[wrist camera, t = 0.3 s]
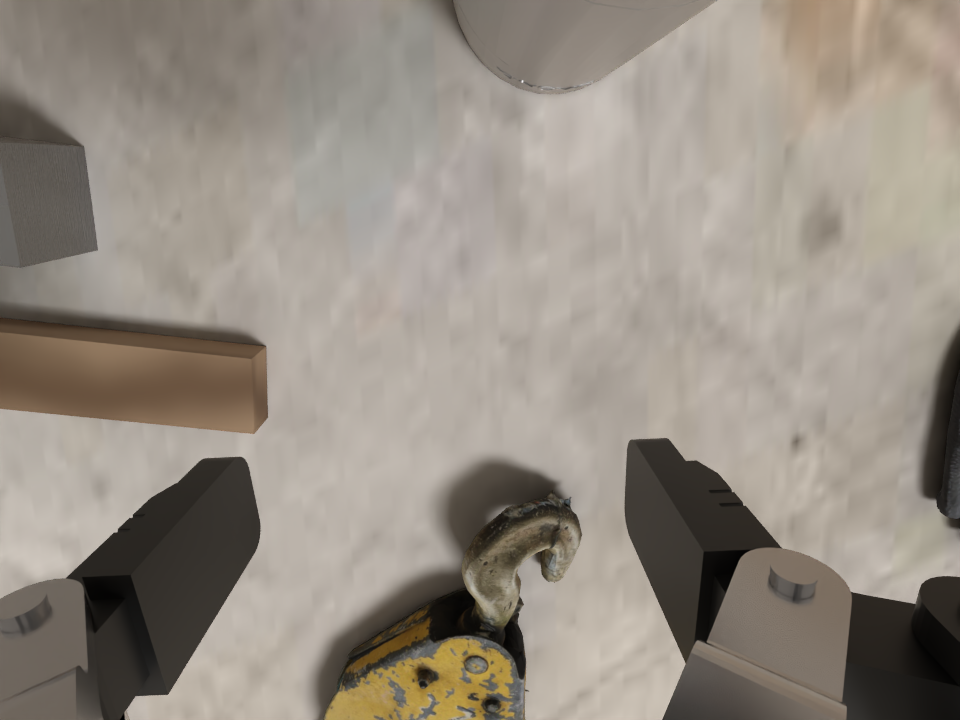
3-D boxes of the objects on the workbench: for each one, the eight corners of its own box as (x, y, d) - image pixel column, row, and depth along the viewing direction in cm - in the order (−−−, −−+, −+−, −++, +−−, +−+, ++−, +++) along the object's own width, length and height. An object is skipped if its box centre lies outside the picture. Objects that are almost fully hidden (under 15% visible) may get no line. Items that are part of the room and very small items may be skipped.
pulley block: (684, 593, 27) (453, 894, 37) (661, 527, 33) (466, 804, 42) (441, 476, 27) (272, 808, 37) (460, 429, 33) (309, 729, 42)
